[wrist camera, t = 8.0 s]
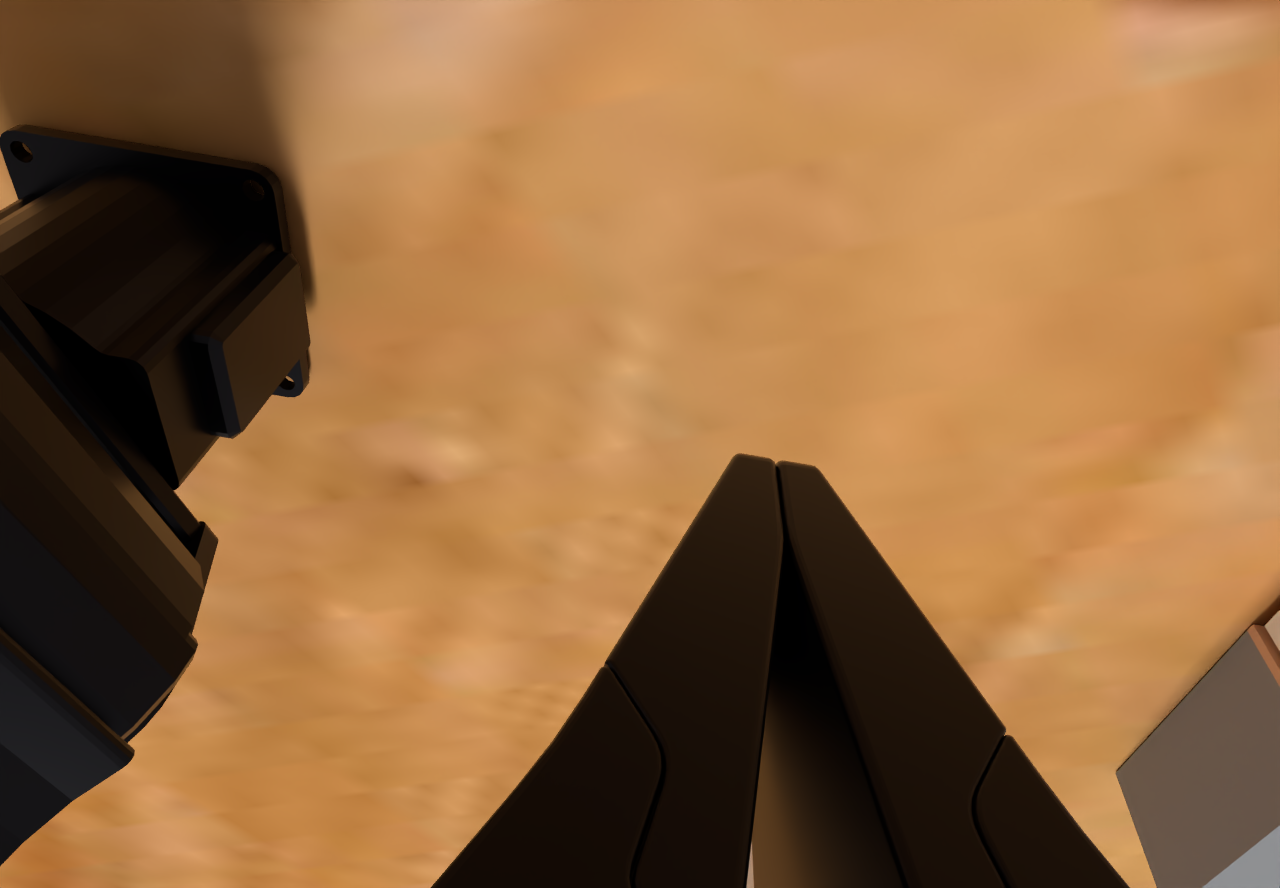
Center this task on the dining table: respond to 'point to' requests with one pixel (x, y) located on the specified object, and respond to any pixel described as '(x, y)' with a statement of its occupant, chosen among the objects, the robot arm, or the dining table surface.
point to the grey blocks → (1214, 777)
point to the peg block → (1274, 629)
